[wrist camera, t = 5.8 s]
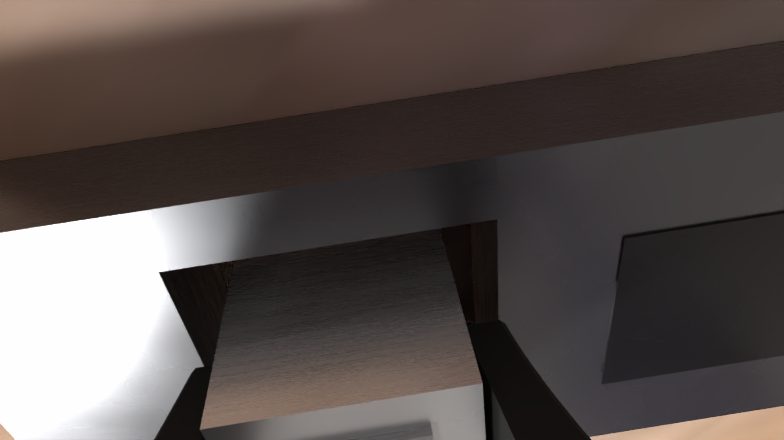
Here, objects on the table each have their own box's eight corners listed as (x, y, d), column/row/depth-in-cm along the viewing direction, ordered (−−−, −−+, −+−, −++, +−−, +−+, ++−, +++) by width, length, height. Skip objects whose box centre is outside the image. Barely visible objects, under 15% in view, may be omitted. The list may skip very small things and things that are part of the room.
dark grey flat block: (892, 24, 11) (1028, 75, 9) (774, 319, 15) (844, 398, 13) (-59, 170, 11) (-152, 257, 8) (115, 424, 15) (84, 519, 13)
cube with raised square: (429, 190, 12) (484, 392, 8) (443, 322, 14) (492, 531, 10) (242, 221, 12) (198, 439, 8) (287, 347, 14) (271, 567, 10)
